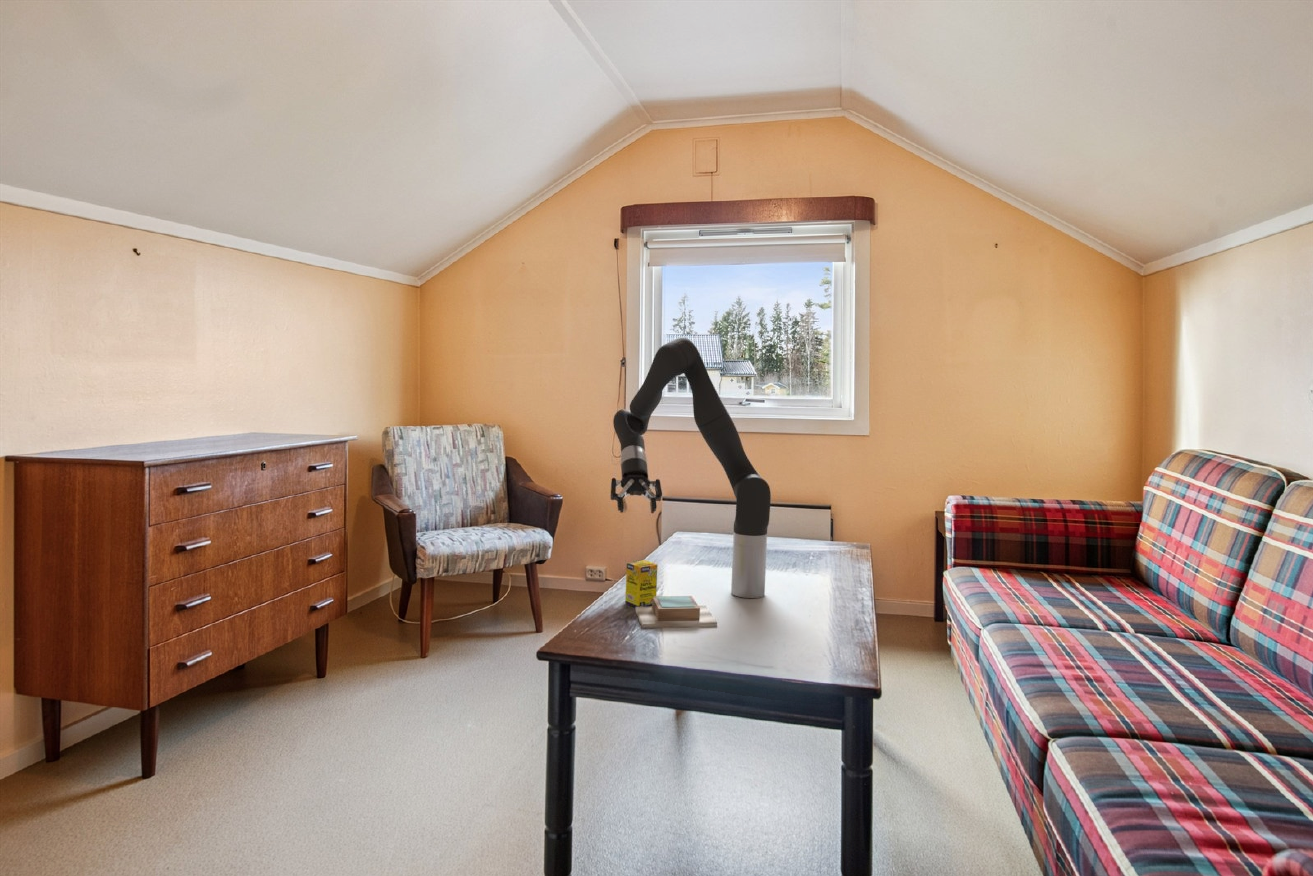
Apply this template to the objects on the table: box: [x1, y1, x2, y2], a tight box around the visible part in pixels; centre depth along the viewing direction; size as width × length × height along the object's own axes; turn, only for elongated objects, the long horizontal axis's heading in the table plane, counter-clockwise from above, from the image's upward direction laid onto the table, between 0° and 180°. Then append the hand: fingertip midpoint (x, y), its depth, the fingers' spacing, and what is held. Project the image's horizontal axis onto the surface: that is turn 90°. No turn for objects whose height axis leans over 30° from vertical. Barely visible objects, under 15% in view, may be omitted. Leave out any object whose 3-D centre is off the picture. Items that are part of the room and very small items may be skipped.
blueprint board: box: [635, 595, 718, 629], centre depth 174 cm, size 13×18×4 cm
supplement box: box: [624, 559, 658, 609], centre depth 184 cm, size 6×6×11 cm
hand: (637, 511), depth 194 cm, fingers open, 8 cm apart
